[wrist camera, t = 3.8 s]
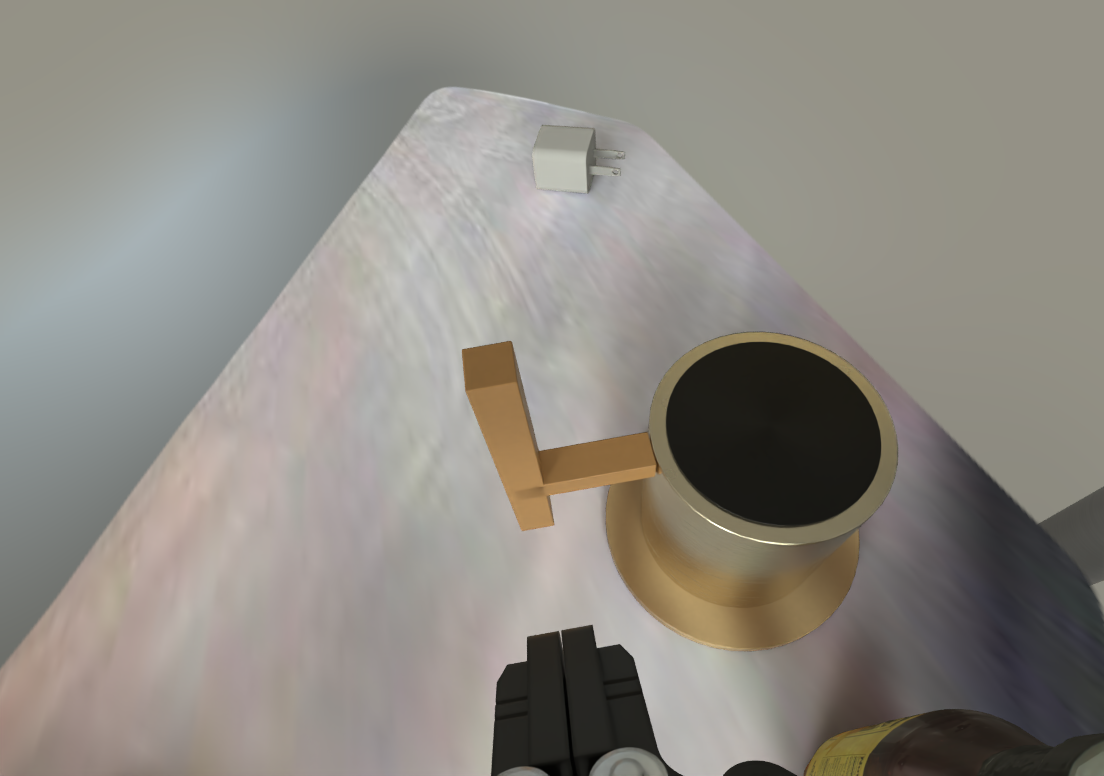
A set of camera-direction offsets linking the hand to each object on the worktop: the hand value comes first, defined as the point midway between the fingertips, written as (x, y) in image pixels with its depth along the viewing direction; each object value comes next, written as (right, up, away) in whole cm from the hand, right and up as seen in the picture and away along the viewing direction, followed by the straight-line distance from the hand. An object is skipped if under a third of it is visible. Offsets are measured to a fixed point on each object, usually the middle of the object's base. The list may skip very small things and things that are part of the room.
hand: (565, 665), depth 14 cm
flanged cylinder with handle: (+7, -2, +21) cm, 22 cm away
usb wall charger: (+2, +24, +38) cm, 45 cm away
